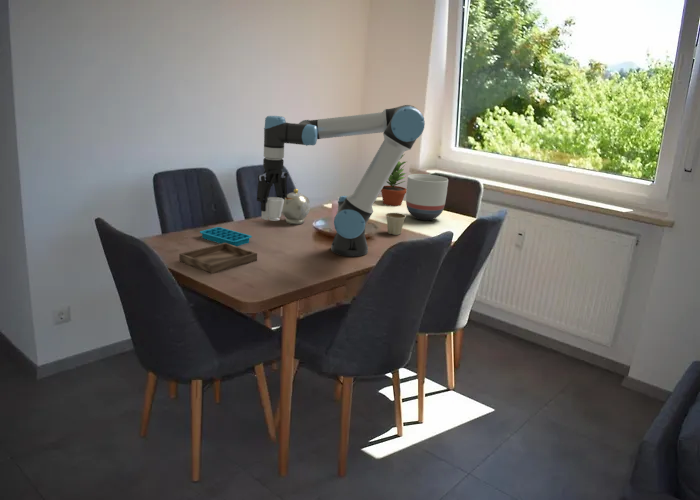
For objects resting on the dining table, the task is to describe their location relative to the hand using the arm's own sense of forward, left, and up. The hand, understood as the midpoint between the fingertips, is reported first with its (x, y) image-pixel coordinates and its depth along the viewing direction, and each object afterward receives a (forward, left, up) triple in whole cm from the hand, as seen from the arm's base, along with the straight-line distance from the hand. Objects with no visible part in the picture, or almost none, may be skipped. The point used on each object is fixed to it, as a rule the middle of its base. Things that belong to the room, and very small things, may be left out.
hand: (271, 217), depth 230 cm
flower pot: (-15, -66, -15) cm, 70 cm away
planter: (-10, -101, -15) cm, 103 cm away
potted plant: (+20, -117, -15) cm, 120 cm away
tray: (+7, +20, -15) cm, 26 cm away
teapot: (+27, -45, -15) cm, 55 cm away
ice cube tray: (+26, 0, -16) cm, 31 cm away
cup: (0, 0, -1) cm, 1 cm away
